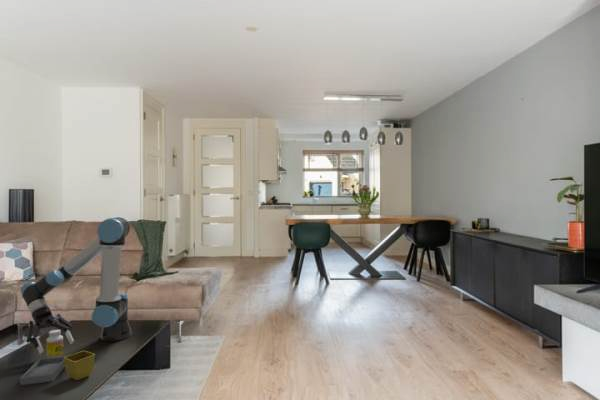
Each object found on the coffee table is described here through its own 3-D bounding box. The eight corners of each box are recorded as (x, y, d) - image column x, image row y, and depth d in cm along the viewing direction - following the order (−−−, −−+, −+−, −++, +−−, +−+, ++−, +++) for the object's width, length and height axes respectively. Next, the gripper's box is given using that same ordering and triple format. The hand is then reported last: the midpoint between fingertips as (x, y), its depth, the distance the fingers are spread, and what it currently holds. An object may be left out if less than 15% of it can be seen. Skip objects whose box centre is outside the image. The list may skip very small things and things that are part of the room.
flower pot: (74, 384, 158) (74, 361, 158) (63, 379, 162) (62, 357, 162) (96, 375, 165) (95, 354, 165) (84, 370, 170) (84, 350, 170)
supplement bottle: (55, 362, 180) (54, 334, 180) (43, 361, 181) (42, 333, 181) (66, 356, 186) (66, 329, 186) (54, 355, 188) (54, 328, 188)
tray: (68, 361, 180) (68, 355, 180) (52, 381, 160) (52, 374, 160) (39, 364, 177) (39, 358, 177) (20, 385, 157) (20, 378, 157)
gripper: (63, 309, 202) (80, 343, 195) (7, 322, 181) (25, 361, 173) (69, 300, 200) (87, 334, 192) (13, 312, 178) (31, 351, 170)
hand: (57, 347), depth 183 cm, fingers open, 13 cm apart
